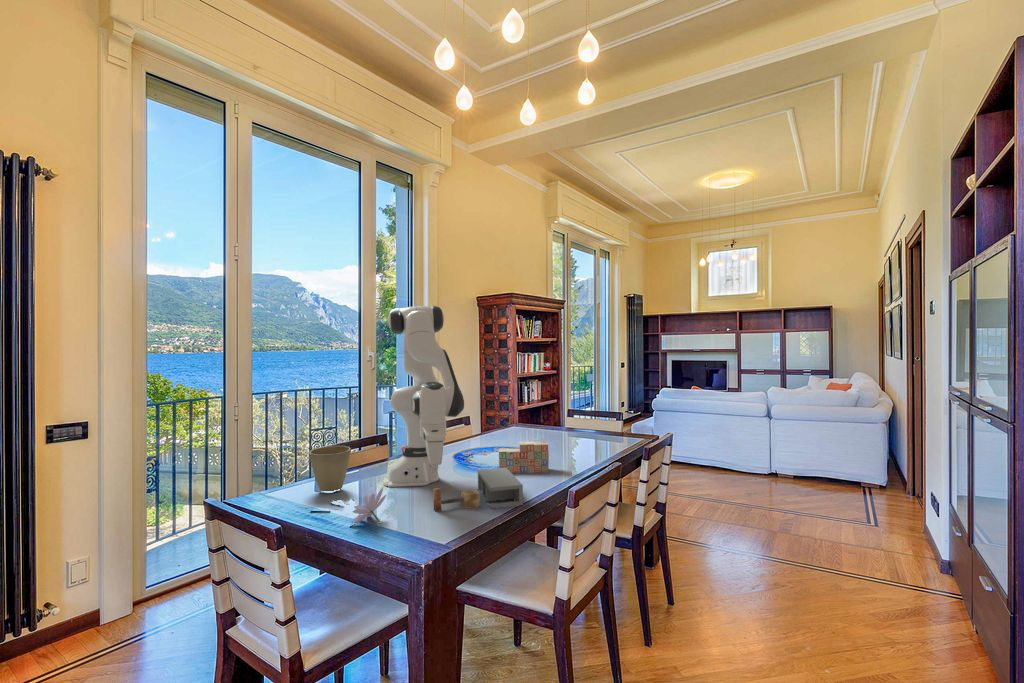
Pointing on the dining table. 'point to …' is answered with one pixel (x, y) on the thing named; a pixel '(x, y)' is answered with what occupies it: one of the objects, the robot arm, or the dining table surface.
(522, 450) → the stack of blocks
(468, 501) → the toy hammer
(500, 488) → the shelf
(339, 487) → the plant pot
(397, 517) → the dining table surface
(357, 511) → the water lily
